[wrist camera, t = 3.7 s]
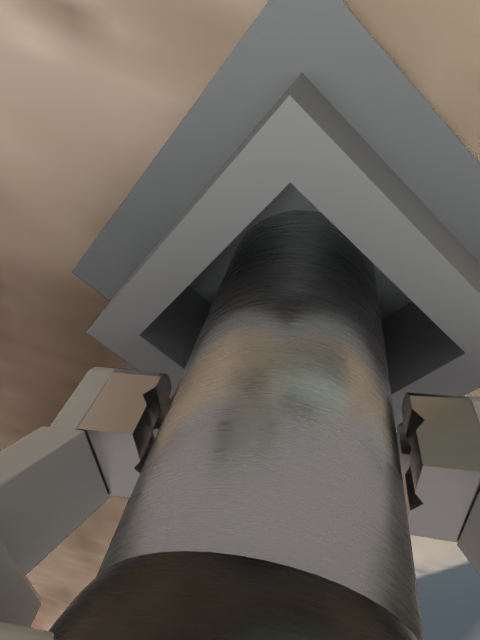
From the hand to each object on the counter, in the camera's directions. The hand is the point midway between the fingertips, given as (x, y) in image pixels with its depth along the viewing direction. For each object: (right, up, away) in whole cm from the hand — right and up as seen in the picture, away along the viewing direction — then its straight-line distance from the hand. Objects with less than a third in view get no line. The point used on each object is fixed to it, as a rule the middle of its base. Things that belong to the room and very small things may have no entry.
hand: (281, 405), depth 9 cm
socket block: (+1, +3, +5) cm, 6 cm away
